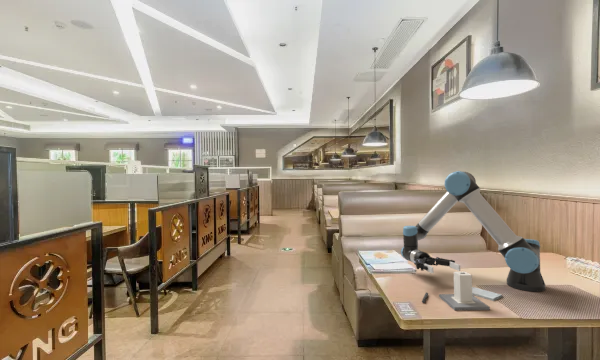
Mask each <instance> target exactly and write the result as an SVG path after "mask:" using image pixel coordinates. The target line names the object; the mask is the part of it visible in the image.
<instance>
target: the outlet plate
mask: <svg viewBox="0 0 600 360" xmlns="http://www.w3.org/2000/svg"><path fill="white" fill-rule="evenodd" d="M438 297H439V298H440V299H441V300H442V301H443V302H444V303H446V304H447V305H448V306H449V307H450V308H451V309H452V310H453V311H490V310H491V307H490V306H489V305H488V304H486V303H485V302H483V301H482V300H481V299H479V298H478V297H477V296H475V295H472V302H460V301H459V300H457V299H456V298H455V297H454V293H440V294H438Z"/></svg>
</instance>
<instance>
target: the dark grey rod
mask: <svg viewBox="0 0 600 360" xmlns="http://www.w3.org/2000/svg"><path fill="white" fill-rule="evenodd" d="M428 296H429V292H425V293H424V296H423V298H422V300H421V303H422V304H425V302H426V300H427V298H428Z"/></svg>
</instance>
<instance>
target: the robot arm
mask: <svg viewBox="0 0 600 360" xmlns="http://www.w3.org/2000/svg"><path fill="white" fill-rule="evenodd" d="M476 182H477V181H476V179H475V176H474V175H473V174H472V173H470V172H467V171H460V170H457V171H453V172H451V173H449V174H448V175H447V176H446V178H445V179H444V188H445V190H446V192H445V193H444V194H443V195H442V196H441V197H440V199H438V201H437V202H436V203H435V204H434V205H433V206H432V207H431V208H430V209H429V211H428V212H427V213H426V214H425V215H424V216H423V217H422V218H421V220H420V221H419V222H418V223H417V224H416V225H405V226H403V227H402V228H403V229H402V236H403V237H402V238H403V247H401V249H400V255H401V257H402V258H404V259H405V260H407V261H409V262H412V263H413V264H414V265H415V267H416V270H419V269H420V271H421V272H424V271H427V272H428V273H430V274H434V267H433V266H436V267H437V266H442V267H443V266H445V267H449V269H453V270H455V271H457V272H461V264H460V263H459V264H458V263H456V260H453V259H448V258H442V257H439V256H437V257H433V256H431V255H430V254H429V253H427V252H425V251H423V250H420V249H419V243H418V242H419V241H420V240H423V239H424V238H426V237H427V235H428V234H429V232H430V231H431V230H432V229H433V228H434V227H435V226H436V225H437V224H438V223H439V222H440V221H441V220H442V218H443V217H444V216H446V214H447V213H448V212H450V210H451V209H452V208H453V207H454V206H455V205H456V204H457V203H463V204H464V205H465V207H466V208H467V209H468V210H469V211H470V212H471V214H472V215H473V216H474V217H475V219H477V221H478V222H479V223H480V225H482V227H483V228H484V229H485V230H486V231H487V232H486V233H488V235H489V236H491V238H492V239H493V240H494V241H495V242H496V244H497V245H498V247H497V251H498V252H499V253H500V255H502V257H503V258H504V261H505V263H506V265H507V266H508V268H509V272H508V274H507V277H506V285H508V286H509V287H512V288H514V289H516V290H522V291H527V292H544V291H546V287H547V286H546V283H545V281H544V277H543V276H542V272H541V244H540V241H539V240H537V239H531V238H523V236H520V235H516V233H515V232H514V231H513V230H512V229H511V228H510V226H509V225H508V224H507V223H506V221H504V219H503V218H502V217H501V216H500V214H499V213H498V212H497V211H496V210H495V209H494V208H493V206H492V205H491V204H490V203H489V202H488V201H487V200H486V199H485V197H484V196H483V195H482V193H481V187H480V186H479V185H478V184H477V183H476Z"/></svg>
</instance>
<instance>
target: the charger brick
mask: <svg viewBox="0 0 600 360" xmlns="http://www.w3.org/2000/svg"><path fill="white" fill-rule="evenodd" d="M472 277H473V275H472V274H470V273H469V272H466V271H453V294H454V297H455V298H456V299H457V300H459V301H460V302H472V287H473V278H472Z"/></svg>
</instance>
